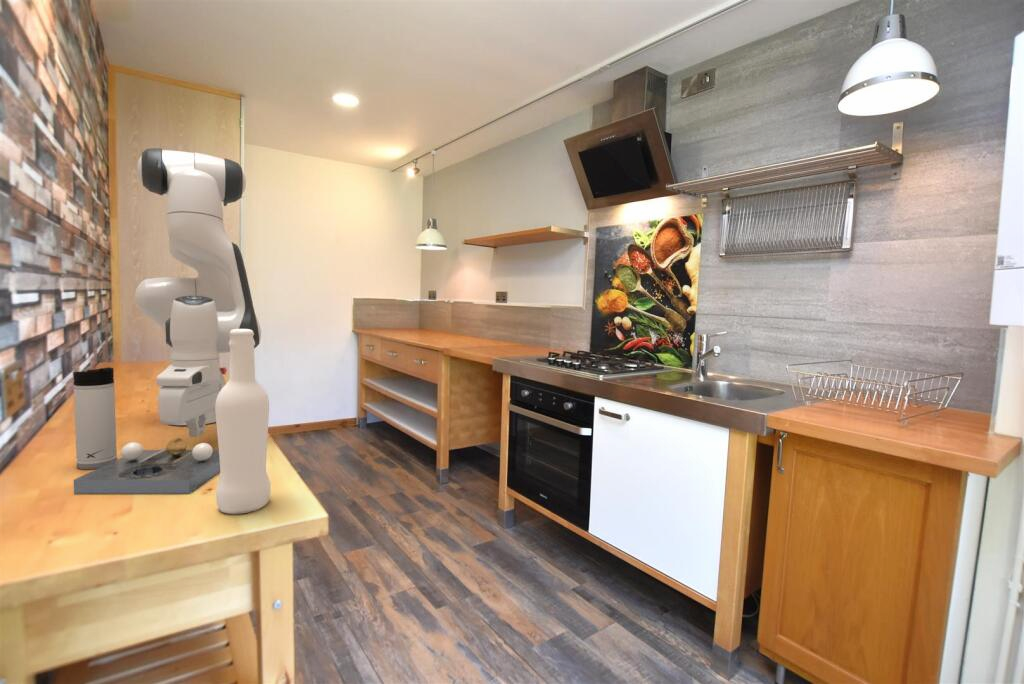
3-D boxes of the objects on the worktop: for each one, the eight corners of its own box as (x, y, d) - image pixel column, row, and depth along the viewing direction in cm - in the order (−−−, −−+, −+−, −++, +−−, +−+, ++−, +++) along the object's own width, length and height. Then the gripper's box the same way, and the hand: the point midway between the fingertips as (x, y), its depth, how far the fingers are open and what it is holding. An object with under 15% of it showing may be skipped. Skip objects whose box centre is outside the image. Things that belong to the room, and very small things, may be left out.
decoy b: (129, 457, 98) (128, 439, 98) (147, 457, 99) (147, 440, 98) (116, 463, 95) (116, 445, 94) (136, 463, 95) (135, 445, 95)
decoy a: (198, 457, 99) (197, 440, 99) (216, 457, 100) (216, 440, 99) (188, 463, 96) (187, 445, 96) (207, 463, 96) (206, 445, 96)
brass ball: (172, 452, 102) (172, 436, 101) (190, 452, 102) (190, 436, 102) (162, 458, 98) (161, 441, 98) (180, 458, 99) (180, 441, 98)
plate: (138, 461, 103) (138, 446, 103) (234, 462, 105) (233, 446, 104) (74, 493, 86) (73, 475, 86) (189, 493, 88) (188, 475, 88)
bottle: (247, 492, 89) (245, 326, 87) (281, 501, 86) (280, 329, 84) (204, 510, 82) (201, 328, 79) (240, 519, 79) (238, 331, 76)
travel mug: (95, 471, 97) (91, 370, 95) (68, 468, 98) (64, 368, 96) (126, 461, 103) (123, 366, 101) (100, 458, 104) (96, 364, 102)
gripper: (205, 365, 116) (206, 423, 117) (150, 378, 96) (152, 448, 97) (233, 366, 117) (234, 423, 118) (184, 379, 96) (186, 448, 97)
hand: (197, 435), depth 107 cm, fingers closed
